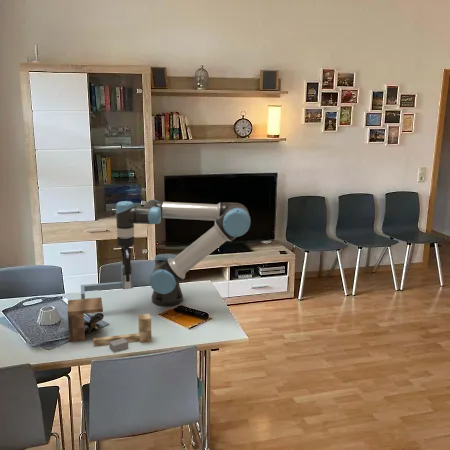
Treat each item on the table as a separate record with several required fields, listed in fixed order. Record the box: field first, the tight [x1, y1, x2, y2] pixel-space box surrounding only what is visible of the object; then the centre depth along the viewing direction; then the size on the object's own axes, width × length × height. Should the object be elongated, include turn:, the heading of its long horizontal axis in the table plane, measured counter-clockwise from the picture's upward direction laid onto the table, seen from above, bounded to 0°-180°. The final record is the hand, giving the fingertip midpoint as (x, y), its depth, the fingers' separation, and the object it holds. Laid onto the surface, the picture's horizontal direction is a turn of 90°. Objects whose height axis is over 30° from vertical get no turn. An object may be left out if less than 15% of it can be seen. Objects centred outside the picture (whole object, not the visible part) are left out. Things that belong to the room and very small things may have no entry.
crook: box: [80, 264, 134, 299], centre depth 218 cm, size 22×12×10 cm, turn 107°
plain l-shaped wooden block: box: [93, 313, 152, 347], centre depth 198 cm, size 22×4×10 cm, turn 107°
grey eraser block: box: [109, 338, 129, 353], centre depth 194 cm, size 6×4×3 cm, turn 127°
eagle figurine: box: [84, 312, 105, 334], centre depth 209 cm, size 8×7×9 cm
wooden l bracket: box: [67, 296, 104, 343], centre depth 204 cm, size 14×12×13 cm
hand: (127, 285), depth 225 cm, fingers closed on crook, 4 cm apart
